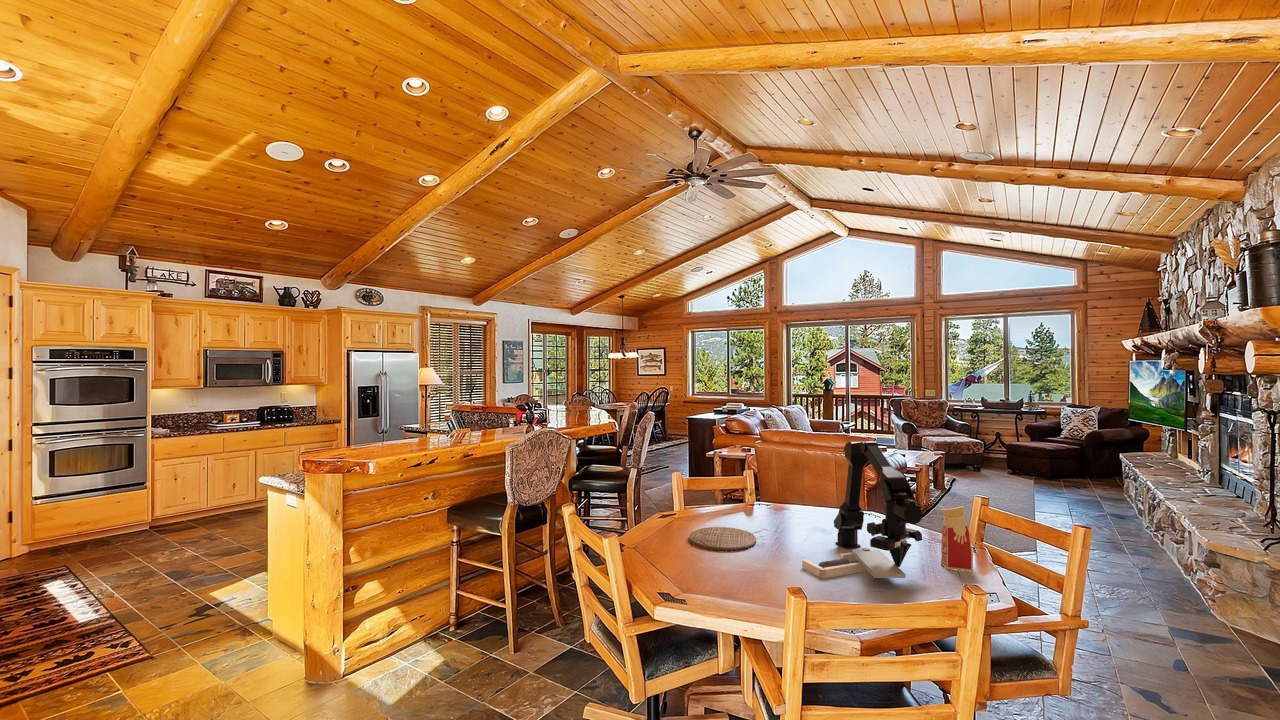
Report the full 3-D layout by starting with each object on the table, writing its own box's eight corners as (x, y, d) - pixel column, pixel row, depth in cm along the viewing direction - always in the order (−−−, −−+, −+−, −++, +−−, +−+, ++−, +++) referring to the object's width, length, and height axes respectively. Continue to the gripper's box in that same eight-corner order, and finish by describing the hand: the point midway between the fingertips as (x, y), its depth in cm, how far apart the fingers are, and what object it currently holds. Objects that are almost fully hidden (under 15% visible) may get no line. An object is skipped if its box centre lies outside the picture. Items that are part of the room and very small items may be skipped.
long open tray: (857, 558, 196) (857, 549, 196) (879, 568, 187) (879, 558, 187) (802, 567, 188) (802, 558, 188) (822, 578, 178) (822, 568, 178)
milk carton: (968, 563, 192) (968, 503, 192) (974, 572, 183) (974, 510, 183) (937, 560, 195) (937, 501, 195) (942, 569, 186) (942, 507, 186)
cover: (851, 551, 193) (851, 547, 193) (878, 552, 192) (878, 548, 192) (874, 577, 170) (874, 572, 170) (905, 578, 169) (905, 573, 169)
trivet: (755, 554, 201) (755, 549, 201) (684, 550, 207) (684, 544, 207) (756, 533, 226) (756, 529, 226) (693, 530, 231) (693, 525, 231)
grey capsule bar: (849, 569, 188) (844, 560, 190) (853, 565, 186) (848, 556, 188) (819, 575, 184) (814, 565, 186) (823, 570, 182) (819, 560, 184)
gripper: (889, 507, 190) (892, 554, 190) (854, 516, 180) (856, 566, 180) (921, 513, 181) (924, 563, 180) (886, 523, 171) (888, 576, 170)
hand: (897, 566), depth 178 cm, fingers closed
